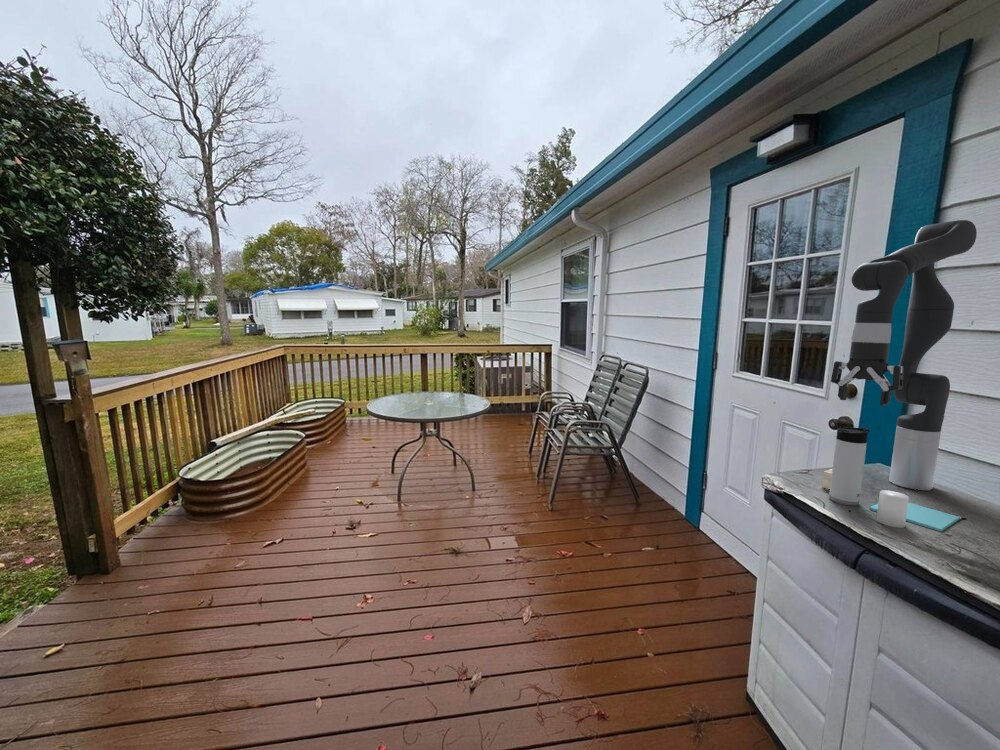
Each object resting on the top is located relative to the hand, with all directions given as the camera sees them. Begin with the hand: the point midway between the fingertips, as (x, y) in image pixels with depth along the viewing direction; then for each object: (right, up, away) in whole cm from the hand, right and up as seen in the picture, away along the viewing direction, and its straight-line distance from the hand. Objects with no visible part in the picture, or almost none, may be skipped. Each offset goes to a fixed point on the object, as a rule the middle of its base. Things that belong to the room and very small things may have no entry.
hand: (862, 402), depth 110 cm
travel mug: (-3, -27, +2) cm, 27 cm away
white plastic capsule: (-2, -28, -10) cm, 30 cm away
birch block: (+1, -26, +10) cm, 27 cm away
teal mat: (+8, -28, -6) cm, 29 cm away
